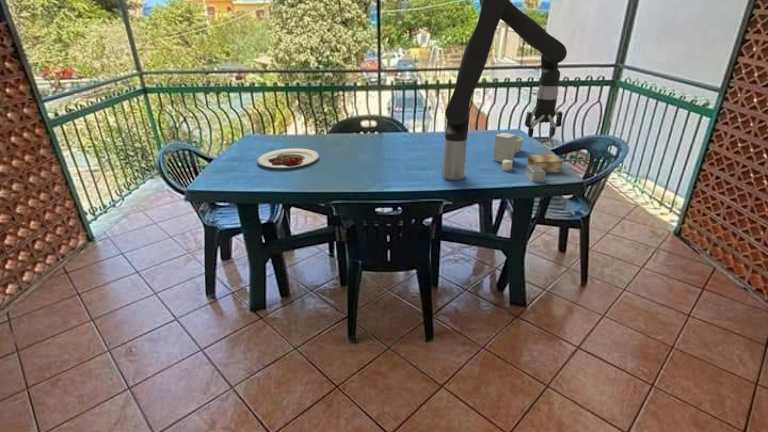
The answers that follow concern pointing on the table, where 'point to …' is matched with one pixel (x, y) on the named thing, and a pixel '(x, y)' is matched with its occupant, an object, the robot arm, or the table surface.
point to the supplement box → (504, 147)
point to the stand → (546, 162)
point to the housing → (535, 173)
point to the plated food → (288, 158)
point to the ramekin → (518, 144)
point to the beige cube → (507, 165)
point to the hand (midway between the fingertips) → (540, 136)
